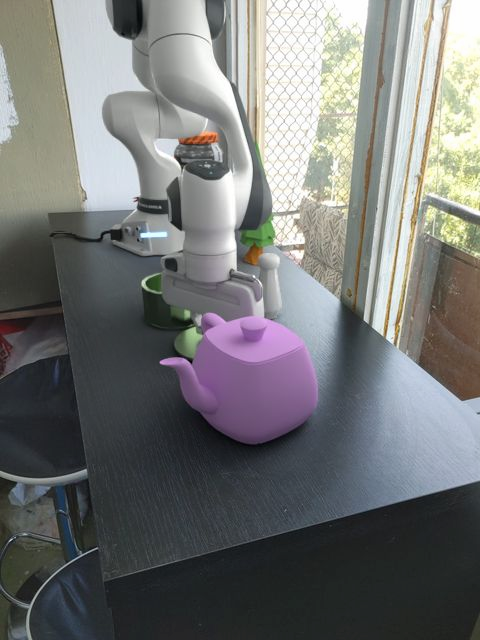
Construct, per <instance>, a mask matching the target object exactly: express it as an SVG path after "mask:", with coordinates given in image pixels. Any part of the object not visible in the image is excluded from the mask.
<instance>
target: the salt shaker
mask: <svg viewBox="0 0 480 640" xmlns="http://www.w3.org/2000/svg"><path fill="white" fill-rule="evenodd" d="M280 263H281V259H280V256H279V255H277V254H276V253H274V252H273V253H272V252H263V254H261V255H260V256H259V258H258V265H257V266H258V267H259V268H260V271H259V276H258V280H259V281H260V283H262V286H263V295H262V296H263V303H264V318H266V319H269V320H276V318H277V317H278V315H279V313H280V312H281V310H282V306H283V301H282V294H281V287H280V280H279V275H278V268H279V267H280Z"/></svg>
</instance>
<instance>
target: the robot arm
mask: <svg viewBox="0 0 480 640" xmlns="http://www.w3.org/2000/svg"><path fill="white" fill-rule="evenodd" d="M104 3H105V4H104V5H105V11H106V16H107V19H108V21H109V23H110V25H111V27H112V30H113V32H114V33H115V34H116V35H117V36H118V37H119V38H122V39H125V40H129V41H131V67H132V72H133V75H134V77H135V78H136V80H137V81H138V82H139V83H140V85H142V87H144V88H145V89H146V90H123V91H118V92H115V93H111V94H108V95H107V96H106V97H105V99H104V101H103V102H102V105H101V110H100V111H101V112H100V116H101V120H102V125H103V126H104V128H105V130H106V131H107V133H109V135H110V136H112V138H114V139H115V140H117V141H118V142H119V143H120V144H122V146H124V147H125V149H126V150H127V151H128V153H129V155H130V156H131V158H132V160H133V162H134V164H135V169H136V172H137V178H138V184H139V185H138V186H139V195H138V196H135V197H132V199H133V203H137V204H136V209H135V210H133V212H131V213H130V214H129V215H128V216H127V217H126V218H124V219H123V221H122V222H121V223H115V224H114V225H113V226H111V227H109V229H108V230H104V231H102V232H100V235H99V237H98V238H90V237H86V236H85V237H84V236H81V235H79V236H77V235H76V234H77V233H75V234H72V233H73V232H70V233H53V232H51V233H50V234H49V235H48V237H49V238H52V237H54V236H56V235H66V236H71V237H74V238H77V239H78V240H81V241H85V242H91V243H93V242H95V243H96V242H101V241H103V240H104V236H105V235H107V234H109V236H110V241H112V244H113V245H114V246H116V247H119V248H121V249H124V250H125V251H129V252H131V253H133V254H136V255H138V256H140V257H150V256H162V257H161V258H160V265H161V266H160V267H161V269H163V270H162V271H161V272H162V274H161V288H162V297H163V299H164V301H165V302H166V303H167V304H169V305H172V306H175V307H178V308H182V309H185V310H188V311H190V316H191V318H192V320H193V322H194V324H195V325H196V326H195V327H196V333H197V334H200V335H203V331H202V326H201V318H202V315H204V314H206V313H214V314H216V315H218V316H219V317H221V318H222V319H223V320H224V321H225V322H229V321H233V320H236V319H240V318H244V317H249V316H256V317H262V318H264V303H263V296H262V295H263V286H262V283H260V281H259V278H257V277H256V275H255V274H253V273H247V272H244V271H241V270H238V269H237V268H238V264H237V263H238V262H237V261H238V260H237V259H238V258H237V255H238V254H237V250H238V249H237V247H238V245H237V241H236V236H235V237H234V232H235V230H237V231H239V230H249V231H256V230H257V229H259V228H260V227H261V226H262V225H263V224H264V223H265V222H266V221H267V220H268V219H269V217H270V216H271V214H273V195H272V191H271V187H270V184H269V182H268V179H267V176H266V177H265V174H266V173H265V174H264V172H263V170H262V167H261V164H260V161H259V157H258V154H257V150H256V147H255V139H254V137H253V134H252V130H251V126H250V123H249V122H250V121H249V119H248V115H247V113H246V109H245V106H244V104H243V101H242V97H241V94H240V91H239V90H238V87H237V86H236V84H235V83H234V82H233V81H231V80H229V79H228V78H227V77H226V76H225V75H224V73H223V72H222V70H221V68H220V67H219V65H218V63H217V61H216V58H215V55H214V50H213V41H217V39H218V38H219V37H220V35H222V33H223V29H224V25H225V21H226V15H227V10H226V9H227V8H226V2H225V0H105V1H104ZM208 120H209V121H211V122H212V123H214V124H215V125H216V126H218V127H219V128H220V129H221V131H222V132H223V135H224V136H225V139H226V144H227V146H228V149H229V153H230V157H231V161H232V164H233V167H234V170H235V172H232V169H231V166H229V165H228V164H226V163H225V162H224V163H222V162H219V161H215V160H209V159H202V160H195V161H192V162H189V163H188V164H186V165H185V166H184V168H183V172H181V166H180V164H179V163H178V161H177V160H176V159H174V156H171V155H169V154H167V153H165V152H164V151H163V152H162V151H160V150H159V149H158V148H157V145H156V141H159V140H178V139H185V138H190V137H194V136H198V135H201V134H202V132H203V131H205V129H206V127H207V125H208V122H209V121H208ZM54 232H67V231H65V230H55V231H54Z"/></svg>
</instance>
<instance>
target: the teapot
mask: <svg viewBox="0 0 480 640" xmlns="http://www.w3.org/2000/svg"><path fill="white" fill-rule="evenodd" d="M201 326H202V331H203V337H202V339H201V341H200V344H199V346H198V348H197V351H196V354H195V356H194V359H193V361H192V363H190V361H189V360H188V359H186V358H184V357H180V356H179V357H177V356H175V357H167V358H164V359H161V360H160V361H159V364H160V365H161V366H165V367H168V368H171V369H173V370H174V371H175V372H176V373H177V376H178V379H179V385H180V390H181V393H182V396H183V398H184V400H185V402H186V403H187V404H188V405H189V406H190V407H191V408H192V409H193V410H195V411H197V412H199V414H201V415H202V417H203V418H204V419H205V420H206V421H207V423H208V424H209V425H211V427H213V428H214V429H215V430H217V432H220V433H222V434H223V435H225V436H227V437H228V438H230V439H231V440H232V439H233V440H235V441H236V442H239V443H242V444H246V445H260V444H263V443H264V444H265V443H267V442H269V441H271V440H272V441H273V440H274V439H275V440H276V439H277V438H280V437H281V436H283V435H286V434H287V433H289V432H291V431H293V430H295V429H297V428H298V427H300V426H301V425H302V424H304V423H305V422H306V421H307V420H308V419H309V418H310V417H311V416H312V414H313V413H314V412H315V411H316V408H317V406H318V403H319V387H318V386H319V385H318V379H317V378H318V377H317V374H316V370H315V367H314V364H313V361H312V358H311V356H310V353H309V351H308V349H307V347H306V344H305V341H304V340H303V339H302V338H301V337H300V336H299V335H298V334H296V332H294V331H293V330H291V329H290V328H289V327H287V326H284V325H283V324H281V323H278V322H276V321H274V320H272V319H270V320H269V319H266V318H262V317H256V316H249V317H244V318H240V319H236V320H233V321H229V322H225V321H224V320H223V319H222V318H221V317H219V316H218V315H216V314H214V313H206V314H204V315H203V316H202V318H201ZM258 443H259V444H258Z"/></svg>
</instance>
